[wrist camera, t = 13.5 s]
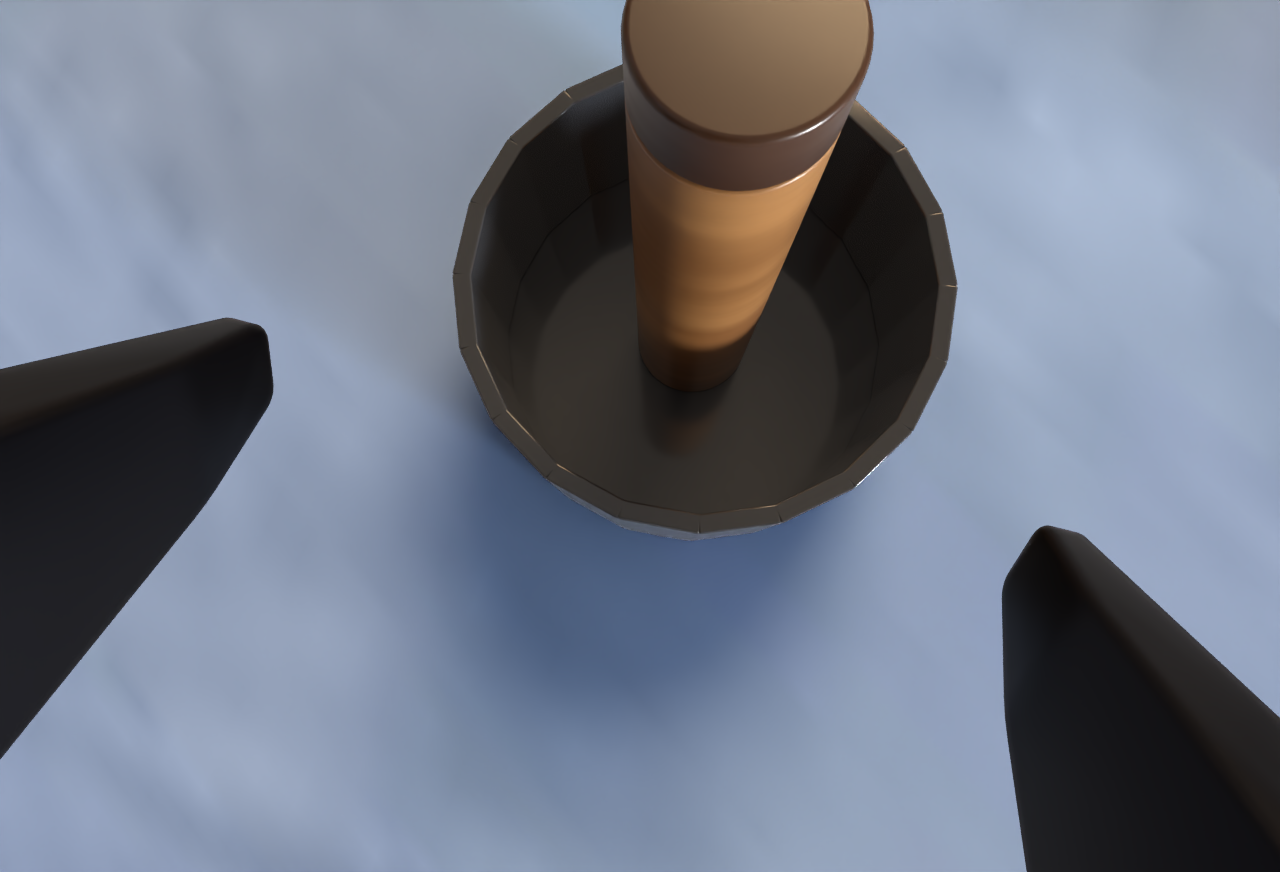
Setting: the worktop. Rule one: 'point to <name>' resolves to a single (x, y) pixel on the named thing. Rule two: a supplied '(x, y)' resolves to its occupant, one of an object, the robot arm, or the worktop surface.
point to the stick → (727, 160)
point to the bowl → (772, 363)
